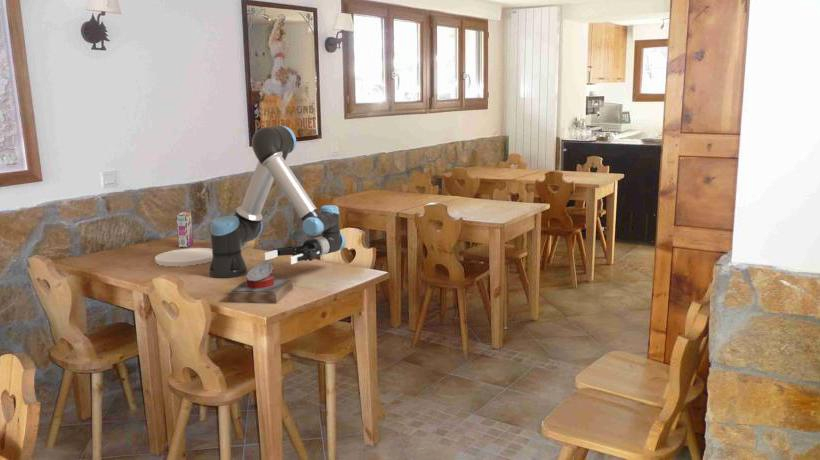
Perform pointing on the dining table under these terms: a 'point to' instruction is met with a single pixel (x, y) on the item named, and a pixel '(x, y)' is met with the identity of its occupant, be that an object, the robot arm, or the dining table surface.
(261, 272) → the canned food
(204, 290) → the dining table surface
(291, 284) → the display podium
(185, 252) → the plate
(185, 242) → the candy bar box
